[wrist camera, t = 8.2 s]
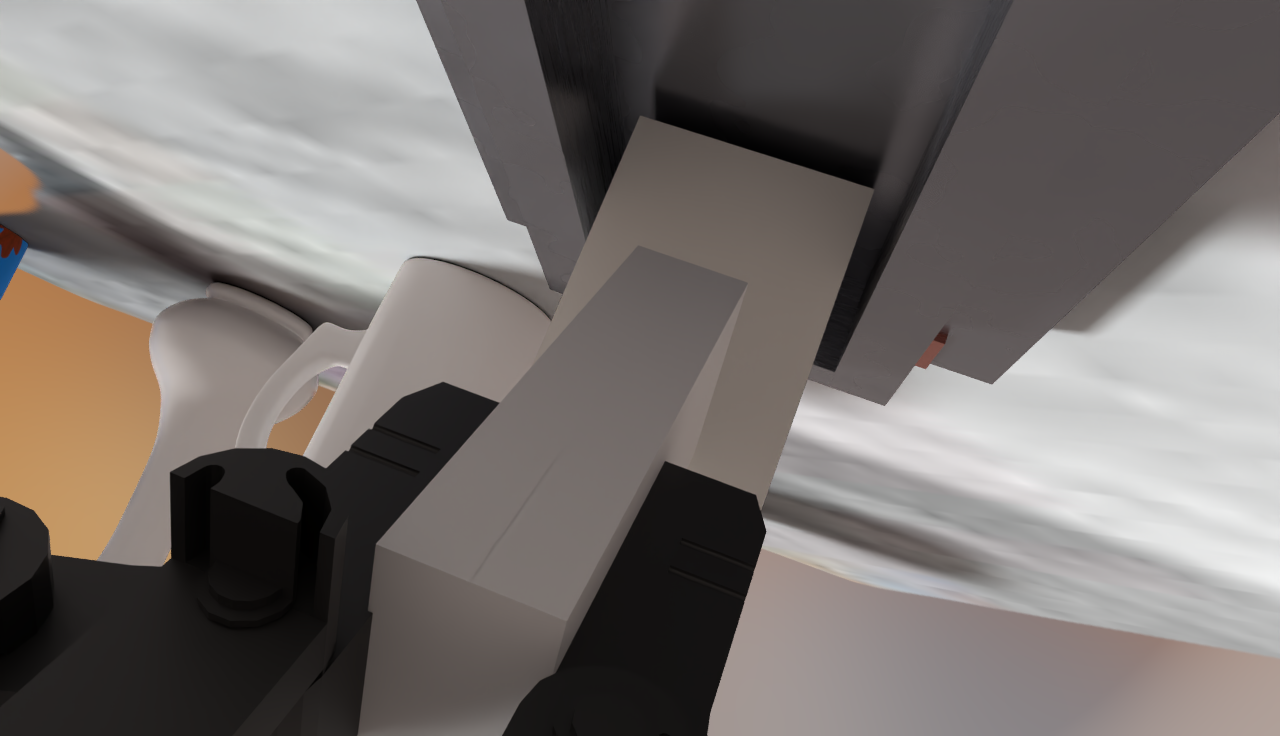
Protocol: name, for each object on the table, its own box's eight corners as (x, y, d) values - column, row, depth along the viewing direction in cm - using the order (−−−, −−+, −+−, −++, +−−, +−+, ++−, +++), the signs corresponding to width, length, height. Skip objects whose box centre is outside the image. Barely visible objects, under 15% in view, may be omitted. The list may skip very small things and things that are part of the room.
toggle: (839, 282, 20) (671, 756, 17) (650, 219, 20) (463, 670, 18) (874, 189, 16) (665, 782, 13) (640, 115, 16) (400, 671, 14)
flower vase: (71, 228, 56) (-179, 655, 50) (295, 282, 47) (25, 809, 41) (235, 324, 67) (47, 685, 61) (442, 384, 58) (247, 812, 52)
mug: (539, 287, 34) (389, 629, 31) (579, 353, 40) (458, 641, 37) (291, 209, 36) (129, 518, 33) (365, 283, 42) (235, 548, 39)
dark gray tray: (1009, 325, 23) (967, 466, 22) (531, 168, 25) (474, 292, 24) (2691, -1489, 4) (2896, -943, 3) (-41, -1600, 5) (-451, -1295, 5)
